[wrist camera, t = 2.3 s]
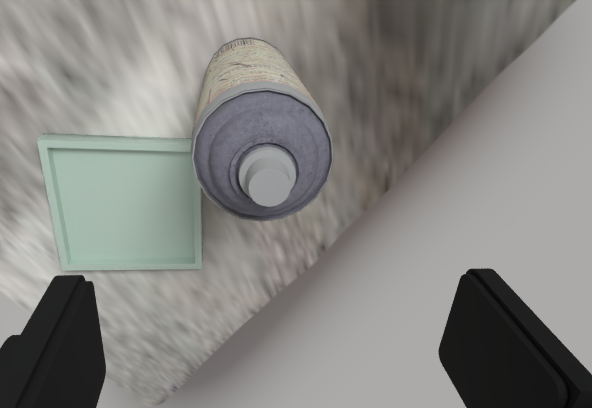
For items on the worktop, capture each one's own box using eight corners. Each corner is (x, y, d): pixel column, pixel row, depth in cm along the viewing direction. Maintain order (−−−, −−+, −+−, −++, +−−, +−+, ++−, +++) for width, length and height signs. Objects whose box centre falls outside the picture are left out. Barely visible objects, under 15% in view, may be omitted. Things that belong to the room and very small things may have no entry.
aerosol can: (188, 89, 35) (147, 204, 17) (241, 17, 33) (255, 63, 15) (256, 139, 37) (281, 283, 20) (308, 76, 35) (386, 172, 18)
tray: (200, 139, 37) (199, 145, 35) (202, 259, 42) (201, 269, 41) (44, 133, 35) (36, 139, 33) (67, 260, 40) (62, 270, 39)
